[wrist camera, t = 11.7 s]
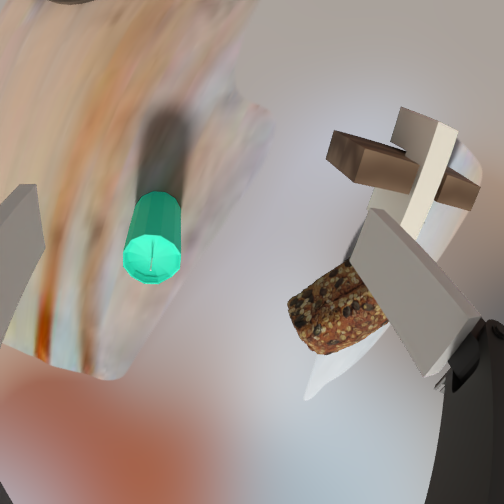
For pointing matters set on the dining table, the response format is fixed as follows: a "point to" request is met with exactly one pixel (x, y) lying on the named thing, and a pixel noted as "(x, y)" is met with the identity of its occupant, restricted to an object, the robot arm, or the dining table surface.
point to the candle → (154, 239)
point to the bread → (335, 311)
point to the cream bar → (429, 173)
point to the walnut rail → (393, 170)
